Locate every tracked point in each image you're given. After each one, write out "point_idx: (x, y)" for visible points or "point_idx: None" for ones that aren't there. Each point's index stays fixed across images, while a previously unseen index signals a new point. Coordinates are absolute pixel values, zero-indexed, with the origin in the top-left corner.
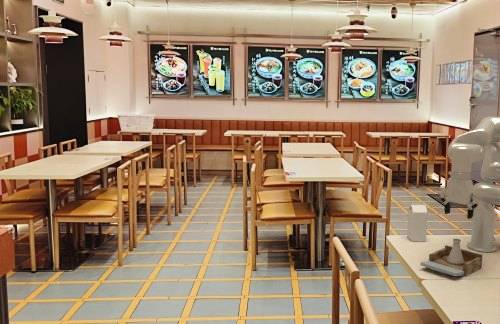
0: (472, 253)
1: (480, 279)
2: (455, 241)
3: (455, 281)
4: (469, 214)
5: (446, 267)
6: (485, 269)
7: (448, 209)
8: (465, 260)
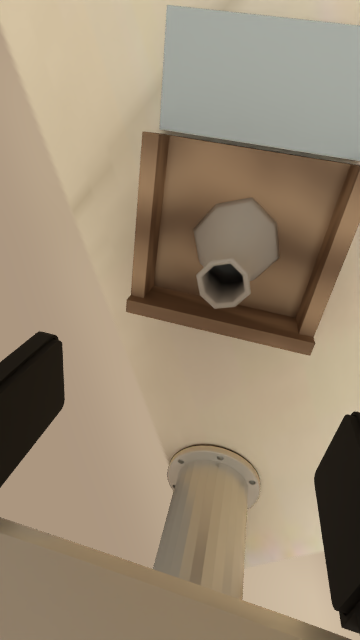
0: (168, 308)
1: (103, 149)
2: (225, 258)
3: None
4: (5, 370)
5: (247, 103)
6: None
7: (340, 497)
8: None
